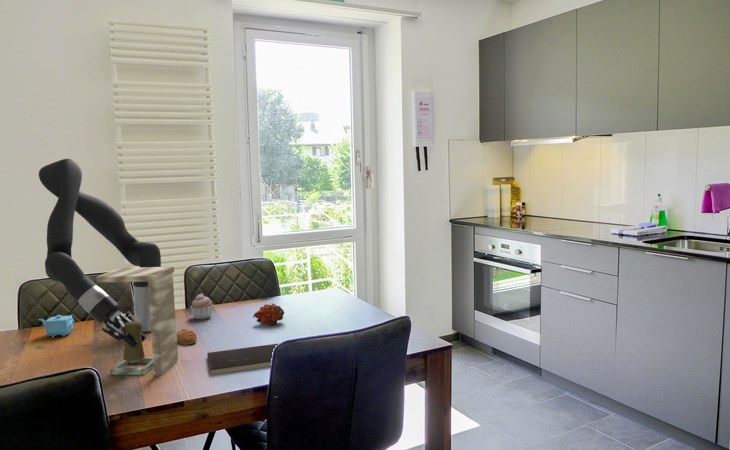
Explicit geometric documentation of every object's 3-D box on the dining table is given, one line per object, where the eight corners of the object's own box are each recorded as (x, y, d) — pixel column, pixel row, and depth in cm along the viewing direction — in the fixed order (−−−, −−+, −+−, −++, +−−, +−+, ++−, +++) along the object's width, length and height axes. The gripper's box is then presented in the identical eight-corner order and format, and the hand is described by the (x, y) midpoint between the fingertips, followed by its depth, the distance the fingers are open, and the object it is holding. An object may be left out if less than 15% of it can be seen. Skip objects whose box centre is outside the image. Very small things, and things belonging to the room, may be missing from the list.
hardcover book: (288, 365, 168) (288, 358, 167) (211, 376, 160) (210, 369, 160) (278, 349, 183) (278, 342, 182) (207, 359, 175) (207, 352, 175)
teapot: (36, 339, 199) (34, 319, 198) (42, 334, 205) (41, 314, 204) (72, 336, 201) (70, 316, 200) (77, 331, 207) (75, 312, 206)
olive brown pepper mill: (136, 361, 163) (135, 324, 162) (118, 360, 164) (117, 324, 163) (148, 355, 168) (147, 319, 168) (131, 354, 170) (129, 319, 169)
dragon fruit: (287, 327, 211) (256, 333, 210) (285, 310, 217) (255, 316, 216) (283, 313, 205) (252, 320, 204) (281, 296, 211) (250, 302, 210)
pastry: (201, 343, 190) (201, 332, 190) (182, 347, 186) (182, 336, 185) (191, 337, 197) (191, 326, 197) (173, 341, 193) (172, 330, 193)
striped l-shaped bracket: (104, 377, 160) (96, 276, 157) (127, 360, 174) (120, 267, 171) (161, 376, 159) (154, 276, 156) (179, 359, 173) (173, 266, 170)
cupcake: (219, 316, 223) (218, 292, 222) (201, 322, 216) (199, 297, 214) (203, 313, 228) (202, 289, 227) (185, 318, 221) (184, 294, 219)
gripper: (93, 301, 158) (137, 341, 158) (118, 290, 172) (158, 327, 173) (77, 319, 159) (120, 359, 159) (103, 306, 173) (142, 343, 173)
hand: (139, 342), depth 166 cm, fingers closed on olive brown pepper mill, 4 cm apart
